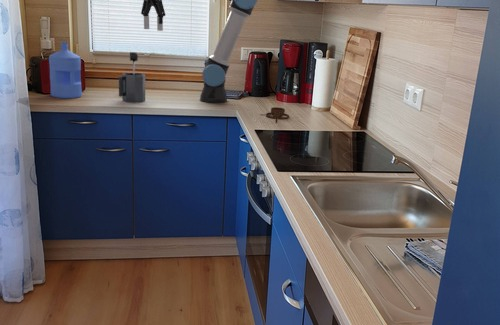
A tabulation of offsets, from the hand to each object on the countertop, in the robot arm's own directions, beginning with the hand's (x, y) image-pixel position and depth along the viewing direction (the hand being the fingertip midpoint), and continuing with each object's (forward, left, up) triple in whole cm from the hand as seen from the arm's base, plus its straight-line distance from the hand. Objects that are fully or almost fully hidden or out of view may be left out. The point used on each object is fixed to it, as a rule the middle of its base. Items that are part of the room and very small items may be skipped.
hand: (153, 30), depth 261 cm
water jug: (+35, -29, -37) cm, 59 cm away
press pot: (+10, -5, -37) cm, 39 cm away
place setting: (-35, +58, -38) cm, 78 cm away
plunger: (+8, -5, -32) cm, 34 cm away
